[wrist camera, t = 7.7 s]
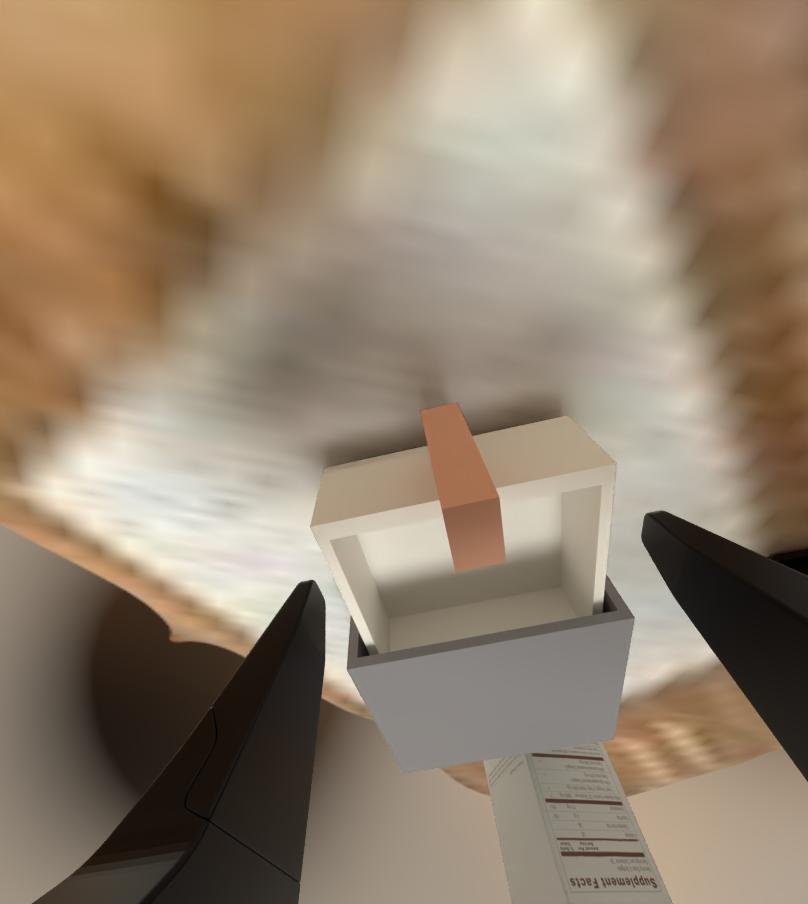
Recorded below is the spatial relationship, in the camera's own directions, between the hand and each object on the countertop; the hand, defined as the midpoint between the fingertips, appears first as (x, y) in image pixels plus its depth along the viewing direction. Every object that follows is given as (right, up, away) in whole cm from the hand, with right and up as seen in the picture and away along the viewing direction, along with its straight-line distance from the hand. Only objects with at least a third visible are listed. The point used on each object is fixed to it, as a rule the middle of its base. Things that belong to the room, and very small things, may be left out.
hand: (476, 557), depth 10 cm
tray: (+1, -1, +11) cm, 11 cm away
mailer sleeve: (+3, -9, +16) cm, 19 cm away
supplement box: (+9, -20, +24) cm, 32 cm away
